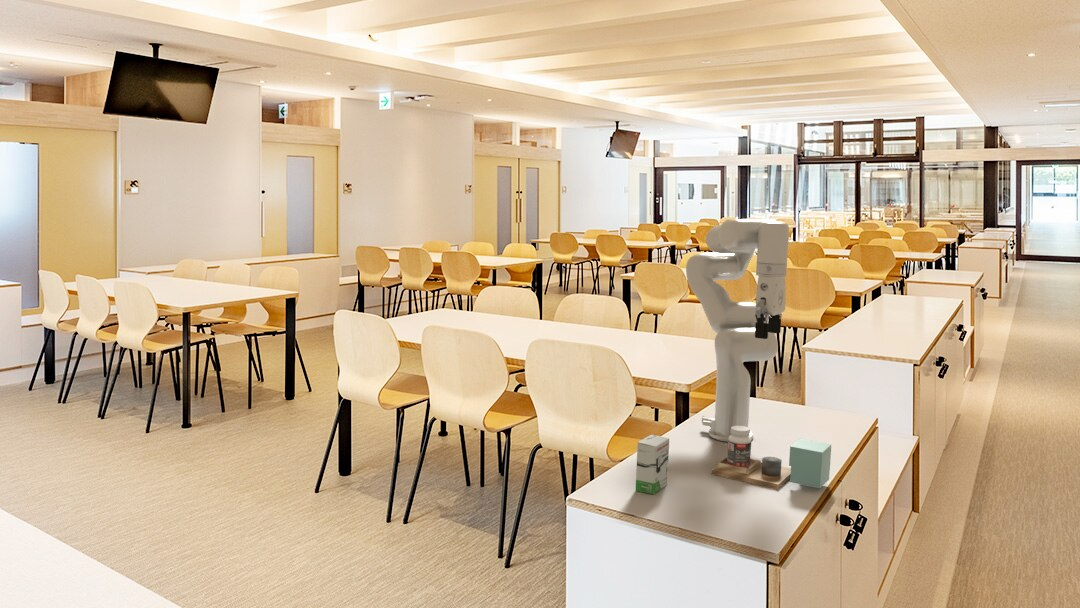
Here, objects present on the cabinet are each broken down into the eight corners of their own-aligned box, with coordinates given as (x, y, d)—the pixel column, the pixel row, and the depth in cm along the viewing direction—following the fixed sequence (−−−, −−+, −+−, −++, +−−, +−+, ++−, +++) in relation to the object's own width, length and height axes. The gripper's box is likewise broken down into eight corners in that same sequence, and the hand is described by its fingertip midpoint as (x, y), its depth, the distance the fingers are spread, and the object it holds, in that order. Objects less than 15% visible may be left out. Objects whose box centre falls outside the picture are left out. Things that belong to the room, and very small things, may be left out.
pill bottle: (736, 471, 208) (738, 432, 206) (722, 464, 213) (723, 426, 211) (754, 467, 210) (756, 429, 209) (739, 460, 215) (741, 423, 214)
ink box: (653, 495, 194) (655, 446, 192) (634, 490, 197) (636, 442, 195) (668, 484, 201) (670, 436, 200) (649, 480, 204) (651, 433, 202)
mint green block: (788, 481, 200) (790, 446, 199) (797, 472, 206) (800, 438, 205) (820, 488, 196) (822, 452, 195) (829, 479, 202) (831, 444, 201)
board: (711, 474, 209) (712, 456, 208) (730, 460, 219) (731, 443, 218) (778, 489, 199) (779, 470, 198) (795, 473, 210) (796, 455, 209)
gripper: (774, 273, 204) (770, 342, 207) (796, 268, 218) (792, 332, 221) (745, 271, 208) (741, 338, 211) (768, 266, 222) (765, 329, 225)
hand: (767, 335), depth 216 cm, fingers open, 9 cm apart
